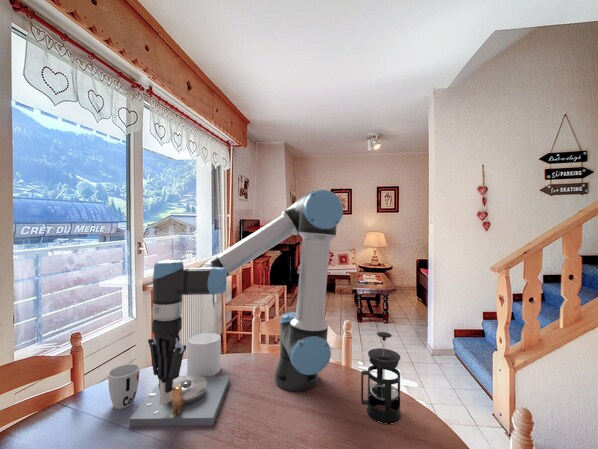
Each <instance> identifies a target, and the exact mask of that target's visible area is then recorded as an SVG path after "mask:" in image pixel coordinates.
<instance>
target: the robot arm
mask: <svg viewBox="0 0 598 449" xmlns="http://www.w3.org/2000/svg"><path fill="white" fill-rule="evenodd" d="M343 215H344V208H343V204H342V200H341V198H339V197H338V196H337V194H336V193H334V192H332V191H331V190H327V189H316V190H313V191H311V192H309V193H308V194H304V195H302V196H301V197H300V198H299V199H297V200H296V201H295V202H294V203H292V204H291V205H290V206H289V207H288V208H286V209H284V210H283V211H282V212H281V215H280V216H278V217H277V218H276V219H274V220H272V221H271V222H268V223H267V224H266V225H264V226H263V227H261V228H259V229H258V230H256V231H255V232H253V233H251V234H249V235H248V236H246V237H244V238H243V239H241V240H240V241H238V242H236V243H235V244H233V245H232V246H231V247H229V248H227V249H225V250H224V251H223V252H221V253H218V255H216V256H214V257H213V258H211V259H209V260H207V261H204V262H203V263H202V264H200V266H199V267H185V266H184V262H183V261H182V260H179V259H166V260H159V261H157V262H155V264H154V265H153V274H152V276H153V277H152V318H153V319H152V321H151V332H152V334H154V336H153V337H152V338H149V339H148V340H147V342H148V346H149V348H150V355H151V356H150V357H151V363H152V370H153V373H152V374H153V375H154V376H157V378H158V384H159V390H160V400H159V404H160V405H162V406H163V405H165V404H167V403H168V402H170V401H171V393H172V389H173V386H172V385H173V380H174V379H176V378H177V377H179V376H180V372H181V369H182V362H183V358H184V353H185V351H186V350H187V345H186V344H183V345H182V343H181V342H180V341H181V339H180V334H179V333H180V331H182V327H183V316H182V314H183V296H184V295H185V296H192V295H194V296H195V295H197V296H199V295H200V296H201V295H212V296H215V295H219V294H221V295H222V294H225V293H226V291H227V280H228V279H227V278H228V276H230V275H231V274H233V273H234V272H235V271H237V270H239V269H240V268H242V267H243V266H245V265H247V264H248V263H250V262H252V261H253V260H254V259H256V258H258V257H259V256H261V255H262V254H265V253H266V252H268V250H270V249H272V248H274V247H275V246H277V245H278V244H280V243H282V242H283V241H285V240H286V239H288V238H290V237H291V236H293V235H294V236H298V235H300V237H301V238H302V241H301V253H300V263H299V273H298V274H299V275H298V276H299V277H298V285H297V295H296V296H297V299H296V310H295V311H293V312H292V311H291V312H286V313H283V314H282V315H281V316H280V322H279V324H280V329H279V330H280V331H279V332H280V340H279V343H280V344H279V346H280V347H279V348H280V350H279V355H280V356H279V360H278V363H277V365H276V369H275V371H274V383H275V384H276V386H278V387H279V388H281V389H283V390H285V391H289V392H290V391H291V392H303V391H304V392H305V391H308V390H311V389H312V388H314V387H316V385H318V382H319V373H321V372H322V370H324V369H325V368H326V367H327V366H328V364H329V363H330V361H331V356H332V351H331V350H332V349H331V347H330V344H329V342H328V341H327V340H328V331H329V330H328V329H329V324H328V323H327V321H325V309H326V308H325V305H326V296H327V295H326V294H327V285H328V284H327V283H328V275H329V274H328V271H329V262H330V260H329V259H330V248H331V242H332V240H333V239H334V238H336V236H337V229H338V228H337V226H338V224H339V223H340V222H341V220H342V218H343Z"/></svg>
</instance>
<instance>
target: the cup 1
mask: <svg viewBox="0 0 598 449" xmlns="http://www.w3.org/2000/svg"><path fill="white" fill-rule="evenodd" d="M107 380H108V381H107V382H108V392H109V396H110V400H111V403H112V406H113V408H114V409H115V410H122V408H124V409H127V408H129V407H130V406H132V405H133V404H134V401H135V398H136V395H137V391H138V386H139V382H140V365H139V364H135V363H128V364H122V365H119V366H115V367H113V368H112V369H111V370H110V371H108V373H107ZM128 406H129V407H128ZM126 407H127V408H126Z"/></svg>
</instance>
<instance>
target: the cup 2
mask: <svg viewBox="0 0 598 449" xmlns="http://www.w3.org/2000/svg"><path fill="white" fill-rule="evenodd" d="M221 345H222V337H221V335H220V334H218V333H216V332H200V333H196V334H194V335H193V334H192V336H189V338H188V339H187V345H186V350H187V351H186V352H187V353H186V354H187V355H186V358H187V359H186V374H187V375H200V376H217V374H218V373H219V372H220V371H221V362H222V361H221V357H222V356H221V355H222V354H221V353H222V352H221V350H222V348H221Z"/></svg>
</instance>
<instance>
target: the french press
mask: <svg viewBox="0 0 598 449" xmlns="http://www.w3.org/2000/svg"><path fill="white" fill-rule="evenodd" d="M376 336H377V337H380V338H382V341H383V344H382V346H383V348H382V347H381V348H372V349H370V350H368V351H367V356H368V357H369V362H370V364H371V365H370V366H369V367H368V368H367V370H361V372H360V402H361V404H362V405H363V406H364V405H366V413H368V414H367V415H369V416H370V417H371V418H372V419H371V420H373V419H374V420H376V421H379V422H382V423H387V424H386V425H388V424H389V425H392V424H391V423H395V422H397V421H399V420H400V421H401V419H400V418H402V414H401V372H400V371H399V370H398V369H397V367H398V365H399V361H401V355H400V354H399V353H398V352H396V351H395V350H391V349H387V348H385V346H386V344H385V341H386V340H387V339H389V338H391V337H392V334H391V333H389V332H386V331H379V332H376ZM374 370H376V376H375V375H373V374H372V373H371V371H374ZM385 371H389V372H392V373H394V374H395V375H397V377H395V378H389V379H386V378H385ZM365 375H366V376H367V399H364V376H365ZM370 380H371V381H372V382H375V383H373V384H370V383H371V381H370ZM396 384H397V388H396V387H394V386H392V385H396ZM376 406H383V407H384V410H381V409H378V408H375V407H376ZM369 416H368V417H369ZM370 417H369V418H370ZM374 420H373V421H374ZM376 421H375V422H376ZM400 421H399V422H400ZM397 423H398V422H397ZM395 424H396V423H395Z"/></svg>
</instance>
